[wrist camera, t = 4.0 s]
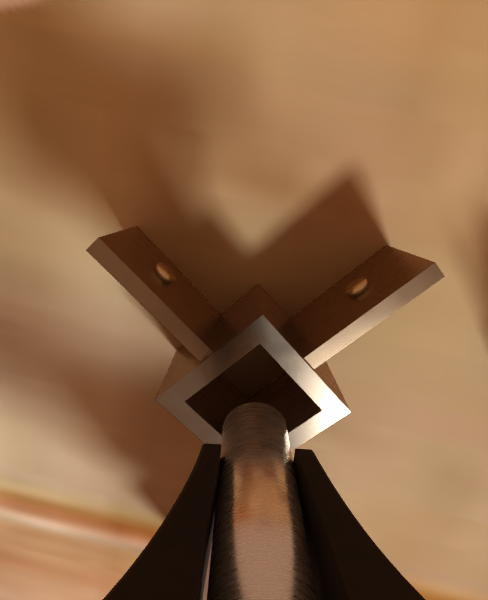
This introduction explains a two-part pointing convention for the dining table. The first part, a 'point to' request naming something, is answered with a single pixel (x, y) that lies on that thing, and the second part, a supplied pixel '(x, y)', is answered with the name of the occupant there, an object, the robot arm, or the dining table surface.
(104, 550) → the dining table surface
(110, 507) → the dining table surface
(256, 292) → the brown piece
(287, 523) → the pin
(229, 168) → the dining table surface
